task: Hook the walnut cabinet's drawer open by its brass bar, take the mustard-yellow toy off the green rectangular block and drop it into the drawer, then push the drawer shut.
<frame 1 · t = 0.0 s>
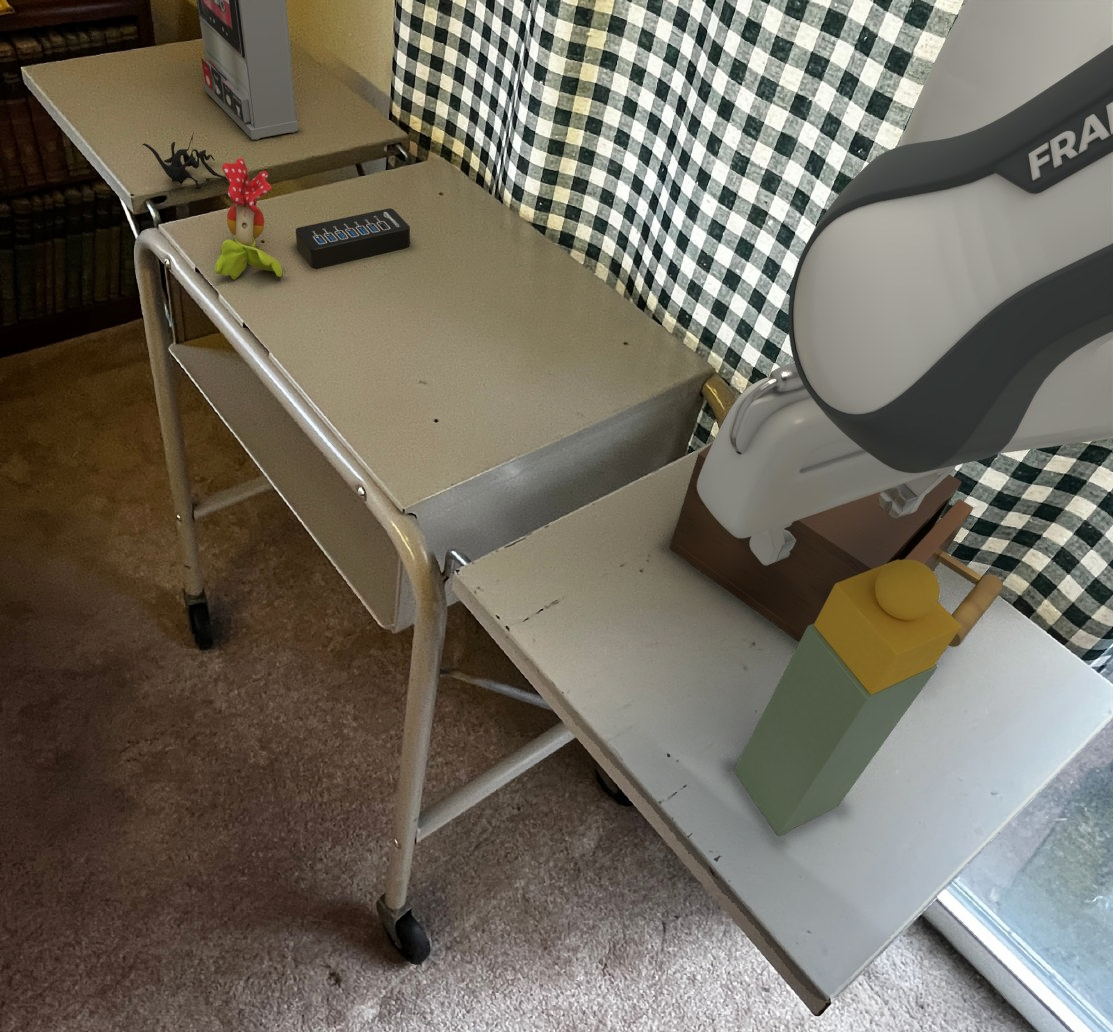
hand: (832, 530, 54), 17 cm above the table, tool pointing down, fingers open, 8 cm apart
multiport hub: (354, 249, 100), on the table
creature: (194, 180, 105), on the table
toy: (872, 645, 51), point 16 cm above the table, touching green rectangular block
green rectangular block: (785, 788, 62), on the table
cabinet: (789, 559, 76), on the table
drawer: (862, 551, 71), point 5 cm above the table, slide at 0.5 cm
cassette tape recorder: (250, 114, 117), on the table
multicoloured upright piece: (248, 266, 95), on the table
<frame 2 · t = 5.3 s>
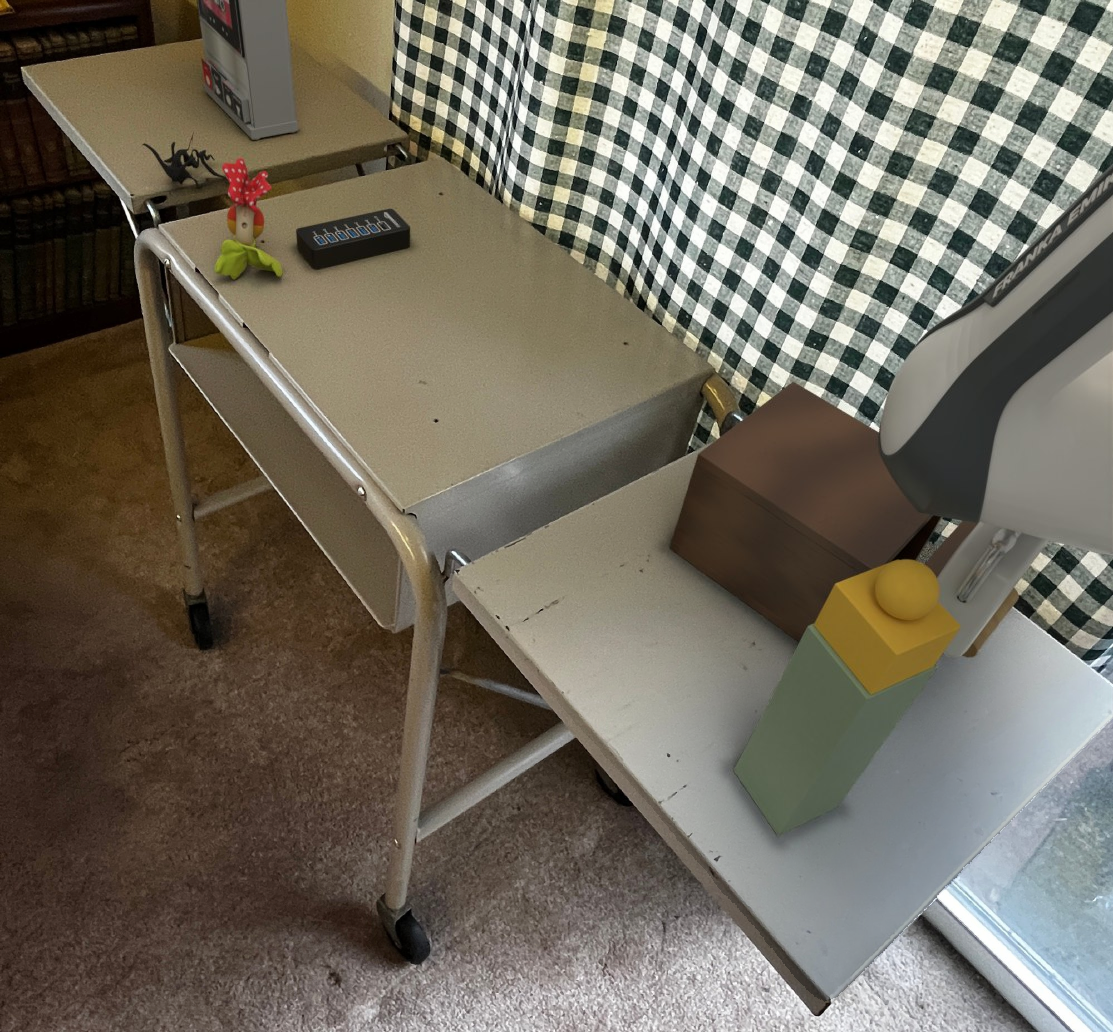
hand: (963, 607, 67), 6 cm above the table, tool pointing down, fingers closed
drawer: (876, 560, 70), point 5 cm above the table, slide at 1.7 cm
everything else where it was.
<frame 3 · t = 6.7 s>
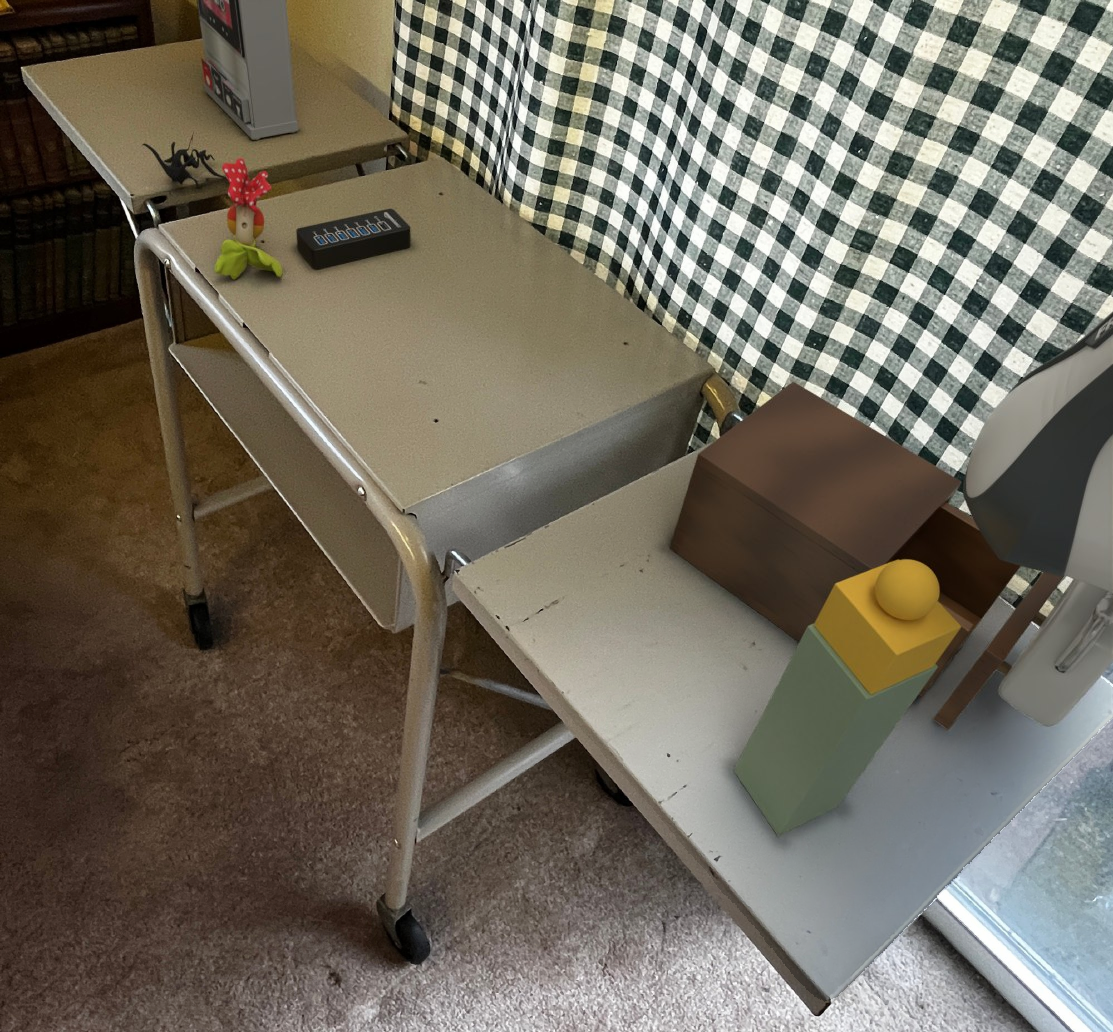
hand: (1043, 666, 65), 6 cm above the table, tool pointing down, fingers closed, pressing on drawer
drawer: (952, 610, 68), point 5 cm above the table, slide at 7.9 cm, touching gripper
everything else where it was.
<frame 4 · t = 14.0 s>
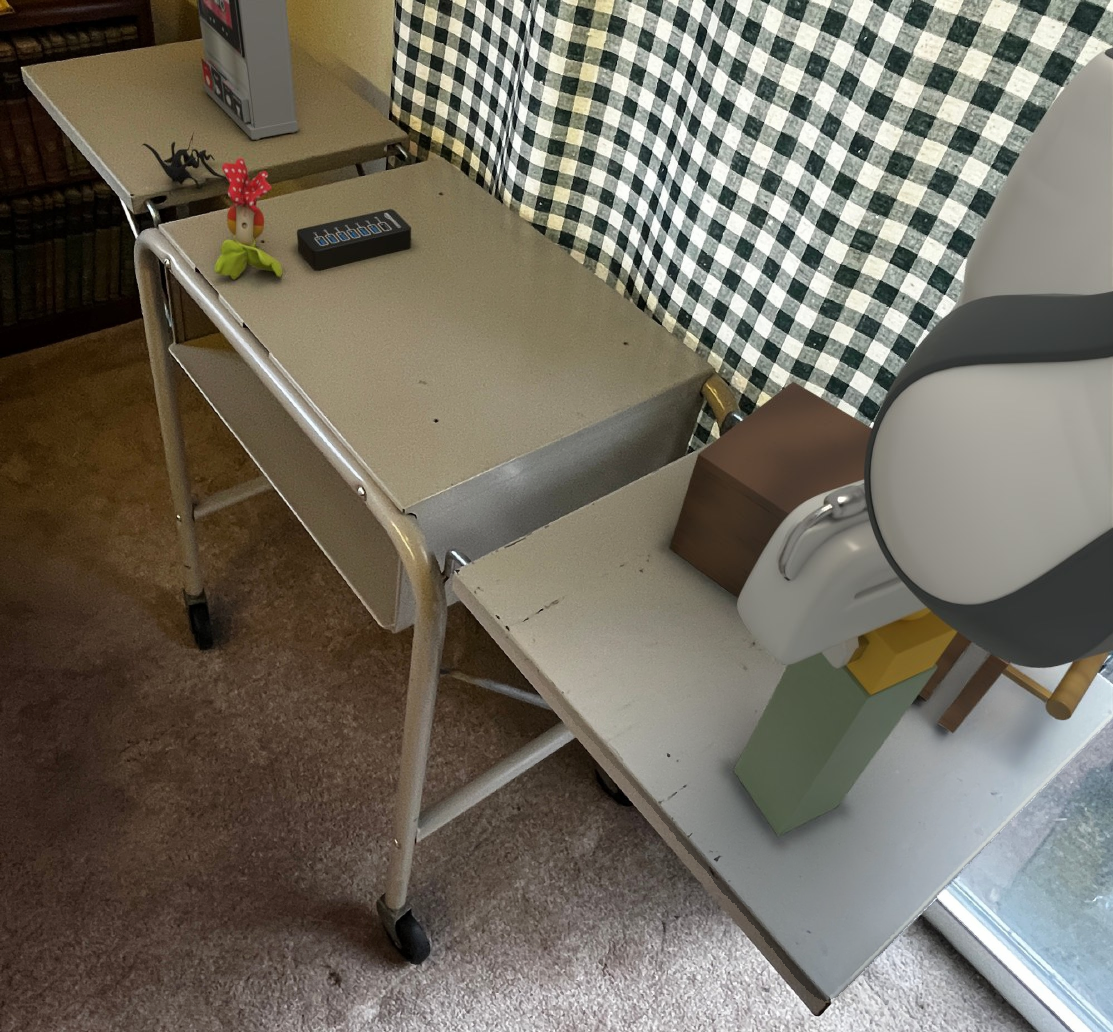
hand: (879, 635, 50), 17 cm above the table, tool pointing down, fingers closed on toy, 4 cm apart
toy: (872, 646, 51), point 16 cm above the table, touching gripper, green rectangular block
drawer: (957, 613, 68), point 5 cm above the table, slide at 8.3 cm
everything else where it was.
when the fingers open (9 cm above the table, at t = 23.1 s): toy stays where it is, resting on drawer.
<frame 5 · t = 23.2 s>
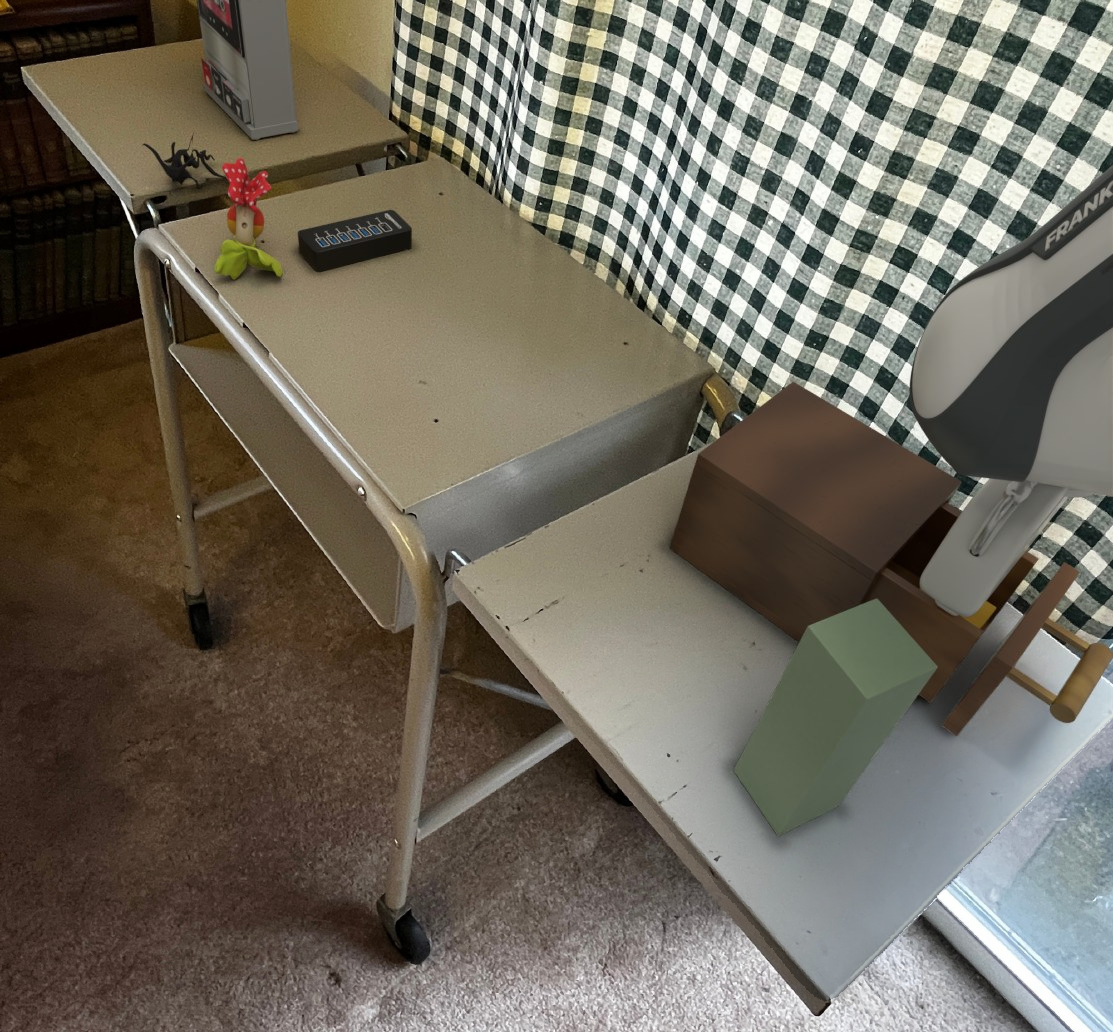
hand: (975, 573, 65), 9 cm above the table, tool pointing down, fingers open, 7 cm apart
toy: (932, 633, 70), point 2 cm above the table, touching drawer
drawer: (961, 616, 67), point 5 cm above the table, slide at 8.6 cm, touching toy
everything else where it was.
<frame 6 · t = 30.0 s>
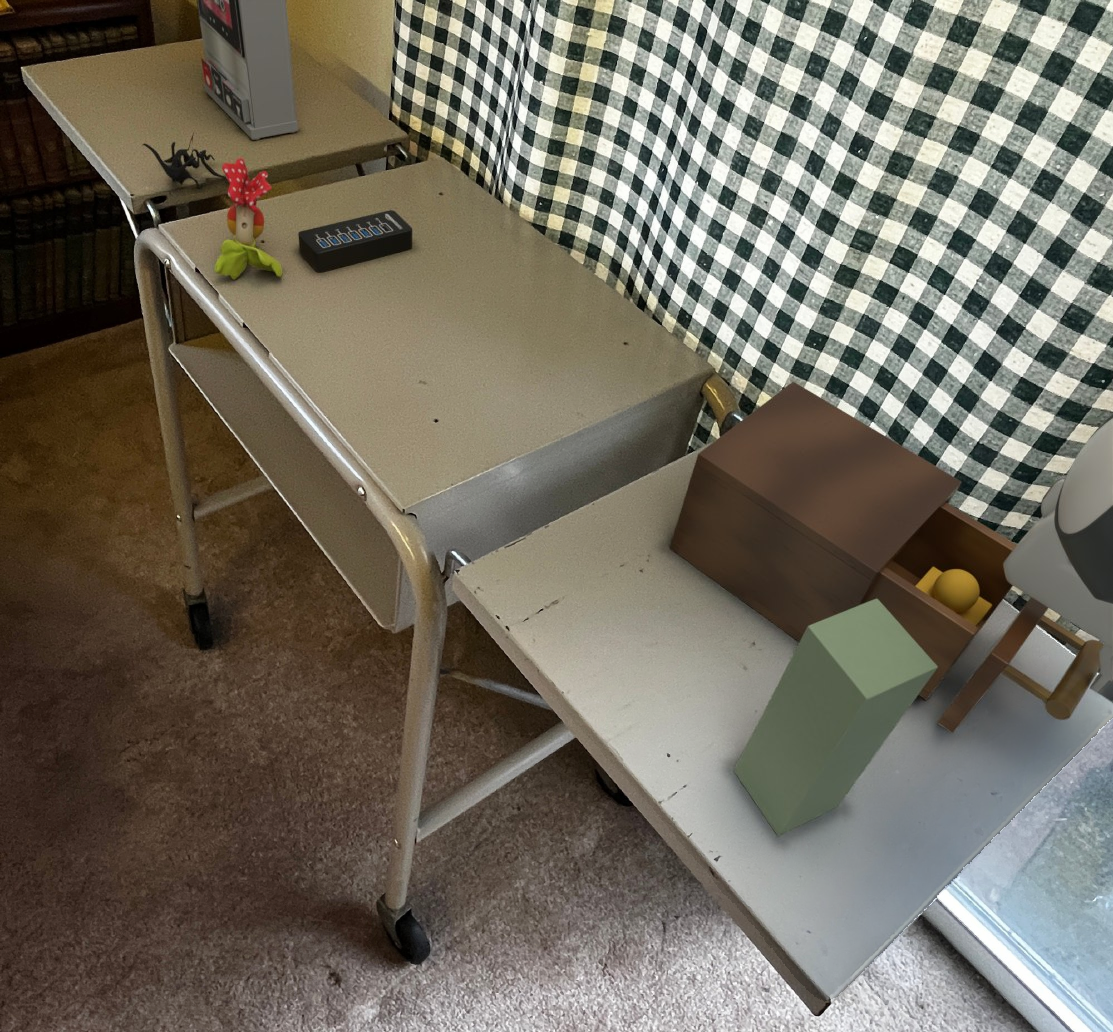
hand: (1112, 696, 62), 6 cm above the table, tool pointing down, fingers closed
drawer: (957, 613, 68), point 5 cm above the table, slide at 8.3 cm, touching gripper, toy
everything else where it was.
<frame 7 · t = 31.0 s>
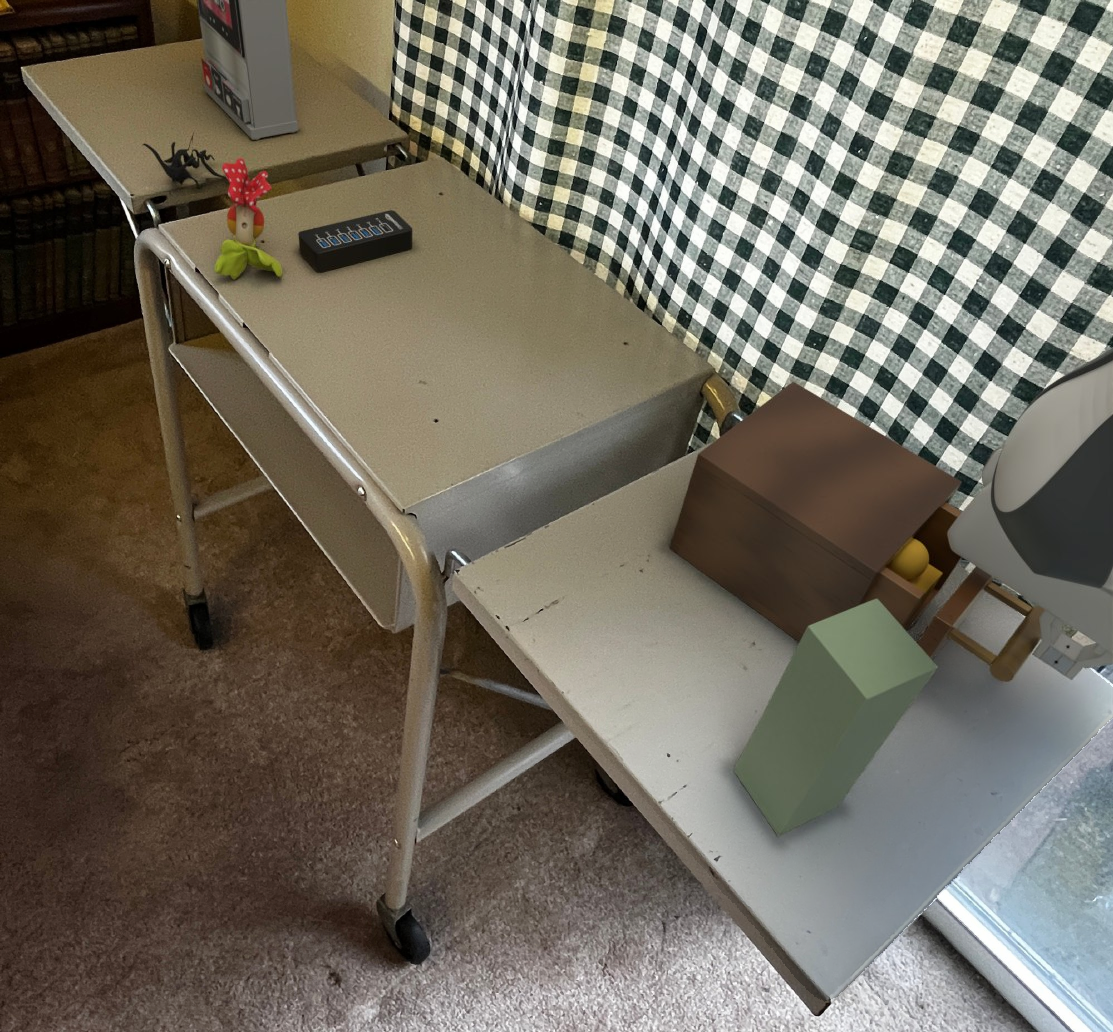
hand: (1054, 662, 64), 6 cm above the table, tool pointing down, fingers closed
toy: (882, 599, 72), point 2 cm above the table, touching drawer
drawer: (908, 581, 69), point 5 cm above the table, slide at 4.3 cm, touching gripper, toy
everything else where it was.
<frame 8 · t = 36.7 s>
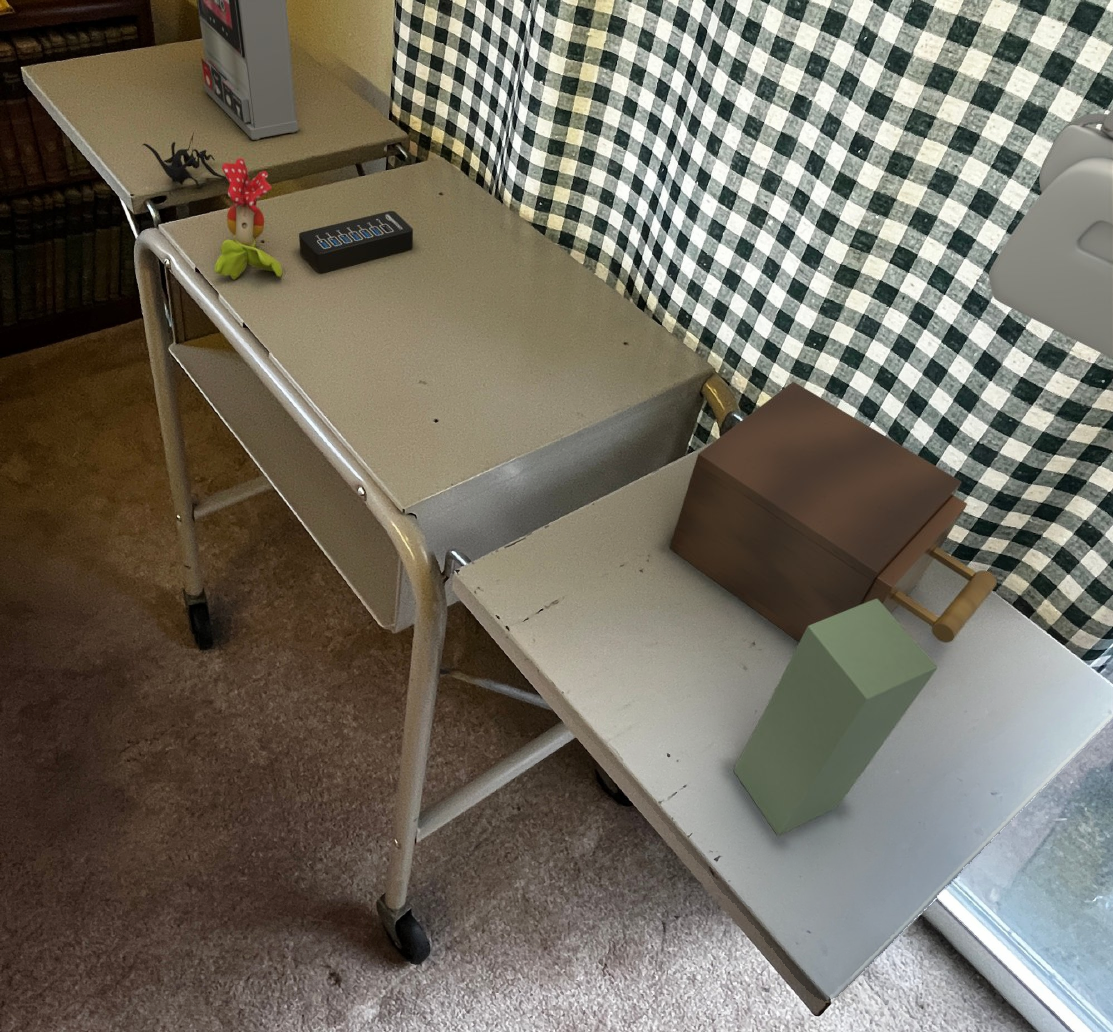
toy: (830, 565, 74), point 2 cm above the table, touching drawer
drawer: (856, 547, 71), point 5 cm above the table, slide at 0.0 cm, touching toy
everything else where it was.
at the end: drawer pulled out 8.6 cm at the most during the clip, back to where it started at the end; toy inside the target area in the cabinet (3.1 cm from its centre), point 2.1 cm above the cabinet's base; drawer slide at 0.0 cm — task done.
